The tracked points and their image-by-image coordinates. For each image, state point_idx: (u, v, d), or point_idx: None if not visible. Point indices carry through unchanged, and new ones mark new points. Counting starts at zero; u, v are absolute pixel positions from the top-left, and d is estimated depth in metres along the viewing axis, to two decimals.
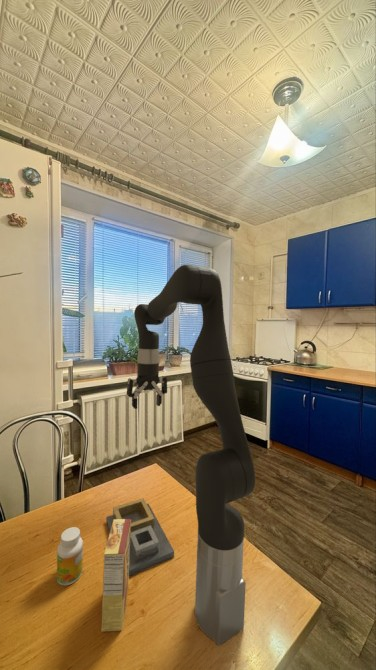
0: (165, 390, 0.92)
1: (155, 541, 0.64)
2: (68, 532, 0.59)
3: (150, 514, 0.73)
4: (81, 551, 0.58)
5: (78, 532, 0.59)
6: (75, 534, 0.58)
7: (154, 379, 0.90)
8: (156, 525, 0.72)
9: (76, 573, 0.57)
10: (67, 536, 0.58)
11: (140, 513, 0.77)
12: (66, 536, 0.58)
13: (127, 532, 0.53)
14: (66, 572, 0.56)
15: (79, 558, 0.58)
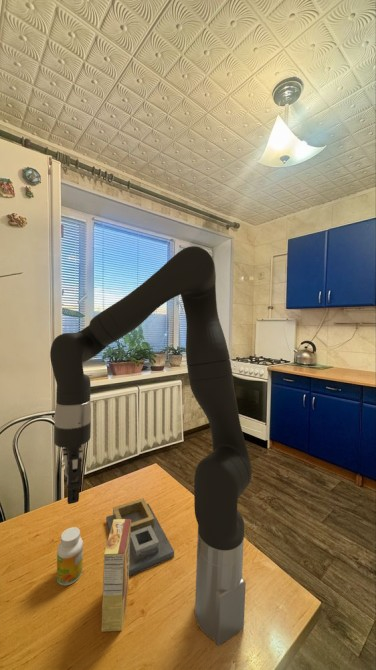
0: None
1: (155, 541, 0.64)
2: (68, 532, 0.59)
3: (150, 514, 0.73)
4: (81, 551, 0.58)
5: (78, 532, 0.59)
6: (75, 534, 0.58)
7: None
8: (156, 525, 0.72)
9: (76, 573, 0.57)
10: (67, 536, 0.58)
11: (140, 513, 0.77)
12: (66, 536, 0.58)
13: (126, 532, 0.53)
14: (66, 572, 0.56)
15: (79, 558, 0.58)
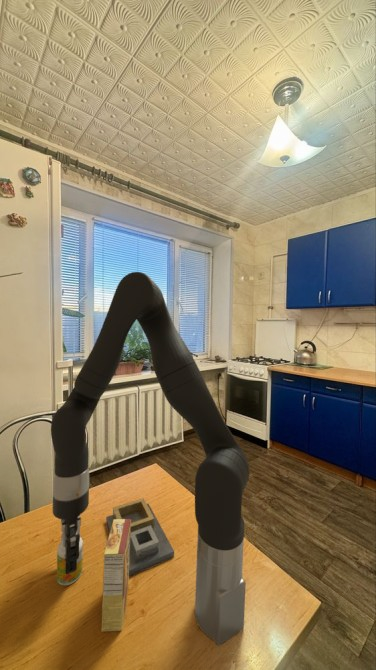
0: None
1: (155, 541, 0.64)
2: None
3: (150, 514, 0.73)
4: (81, 551, 0.58)
5: None
6: None
7: None
8: (156, 525, 0.72)
9: (76, 573, 0.57)
10: None
11: (140, 513, 0.77)
12: None
13: (127, 532, 0.53)
14: None
15: (79, 558, 0.58)
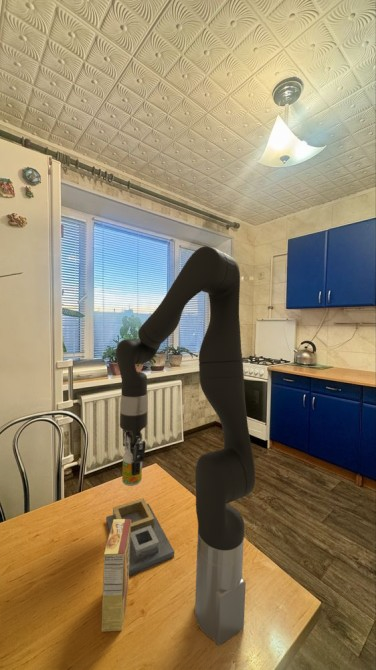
0: None
1: (155, 541, 0.64)
2: None
3: (150, 514, 0.73)
4: None
5: None
6: None
7: None
8: (156, 525, 0.72)
9: (138, 477, 0.71)
10: None
11: (140, 513, 0.77)
12: None
13: (126, 532, 0.53)
14: (132, 475, 0.70)
15: (140, 466, 0.71)
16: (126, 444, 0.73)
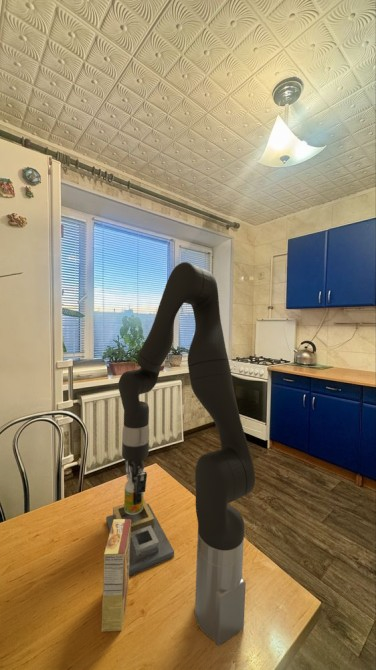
0: None
1: (155, 541, 0.64)
2: None
3: (150, 514, 0.73)
4: None
5: None
6: None
7: None
8: (156, 525, 0.72)
9: (140, 506, 0.72)
10: None
11: (140, 513, 0.77)
12: None
13: (127, 532, 0.53)
14: (133, 504, 0.71)
15: (142, 495, 0.72)
16: (128, 472, 0.74)
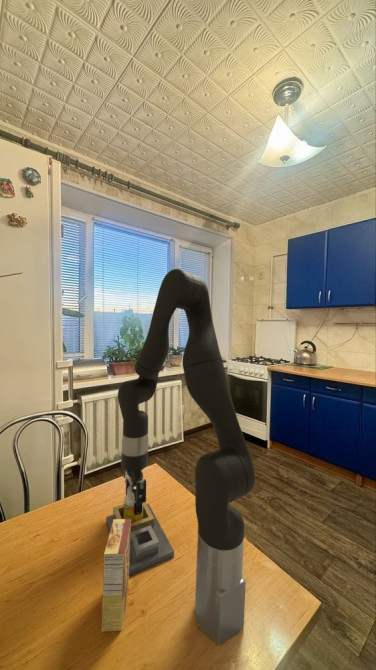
0: None
1: (155, 541, 0.64)
2: None
3: (150, 514, 0.73)
4: None
5: None
6: None
7: None
8: (156, 525, 0.72)
9: (139, 519, 0.72)
10: None
11: None
12: None
13: (126, 532, 0.53)
14: (133, 517, 0.70)
15: (142, 508, 0.72)
16: (127, 479, 0.75)
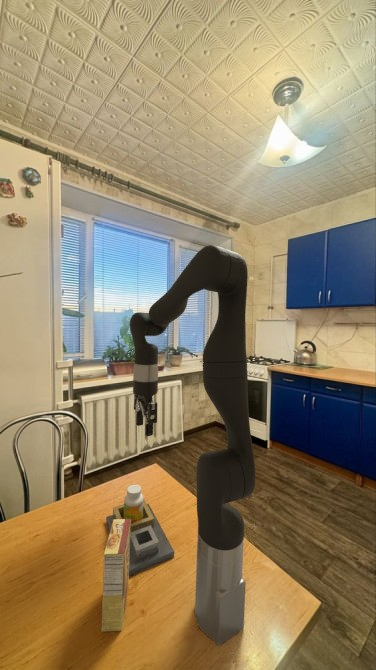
0: None
1: (155, 541, 0.64)
2: (132, 487, 0.73)
3: (150, 514, 0.73)
4: (142, 502, 0.73)
5: (140, 488, 0.73)
6: (137, 489, 0.73)
7: None
8: (156, 525, 0.72)
9: (139, 519, 0.72)
10: (132, 490, 0.72)
11: None
12: (131, 490, 0.72)
13: (126, 532, 0.53)
14: (133, 517, 0.70)
15: (142, 508, 0.72)
16: (137, 408, 0.80)
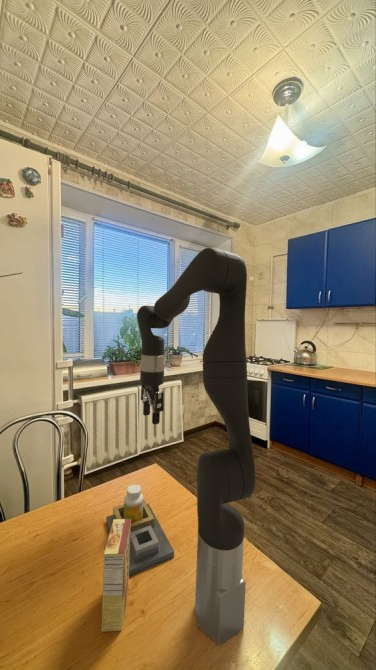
0: None
1: (155, 541, 0.64)
2: (132, 487, 0.73)
3: (150, 514, 0.73)
4: (142, 502, 0.73)
5: (140, 487, 0.73)
6: (137, 489, 0.73)
7: None
8: (156, 525, 0.72)
9: (139, 519, 0.72)
10: (132, 490, 0.72)
11: None
12: (131, 490, 0.72)
13: (126, 532, 0.53)
14: (133, 517, 0.70)
15: (142, 508, 0.72)
16: (144, 398, 0.83)
